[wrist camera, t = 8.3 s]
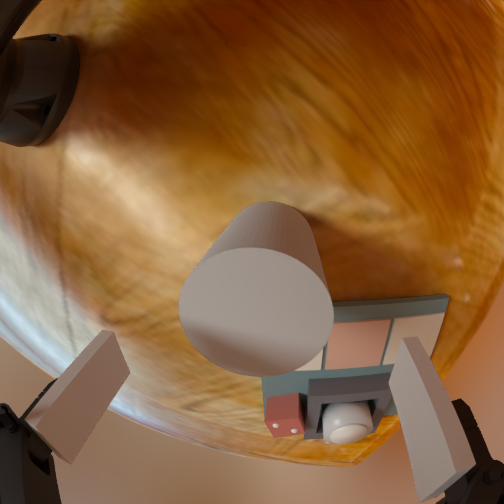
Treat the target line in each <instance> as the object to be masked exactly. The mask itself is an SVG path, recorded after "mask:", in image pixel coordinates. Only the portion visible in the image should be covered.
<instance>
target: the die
mask: <svg viewBox="0 0 504 504" xmlns="http://www.w3.org/2000/svg"><path fill="white" fill-rule="evenodd" d="M264 422H265V423H266V425H267V427H268V428H269V430H270V432H271V433H272V435H273V437H282V436H291V435H299V434H305V408H304V405H303V403H302V400H301V397H300V395H299V392H298V393H292V394H286V395H280V396H273V397H267V405H266V413H265V421H264Z"/></svg>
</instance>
